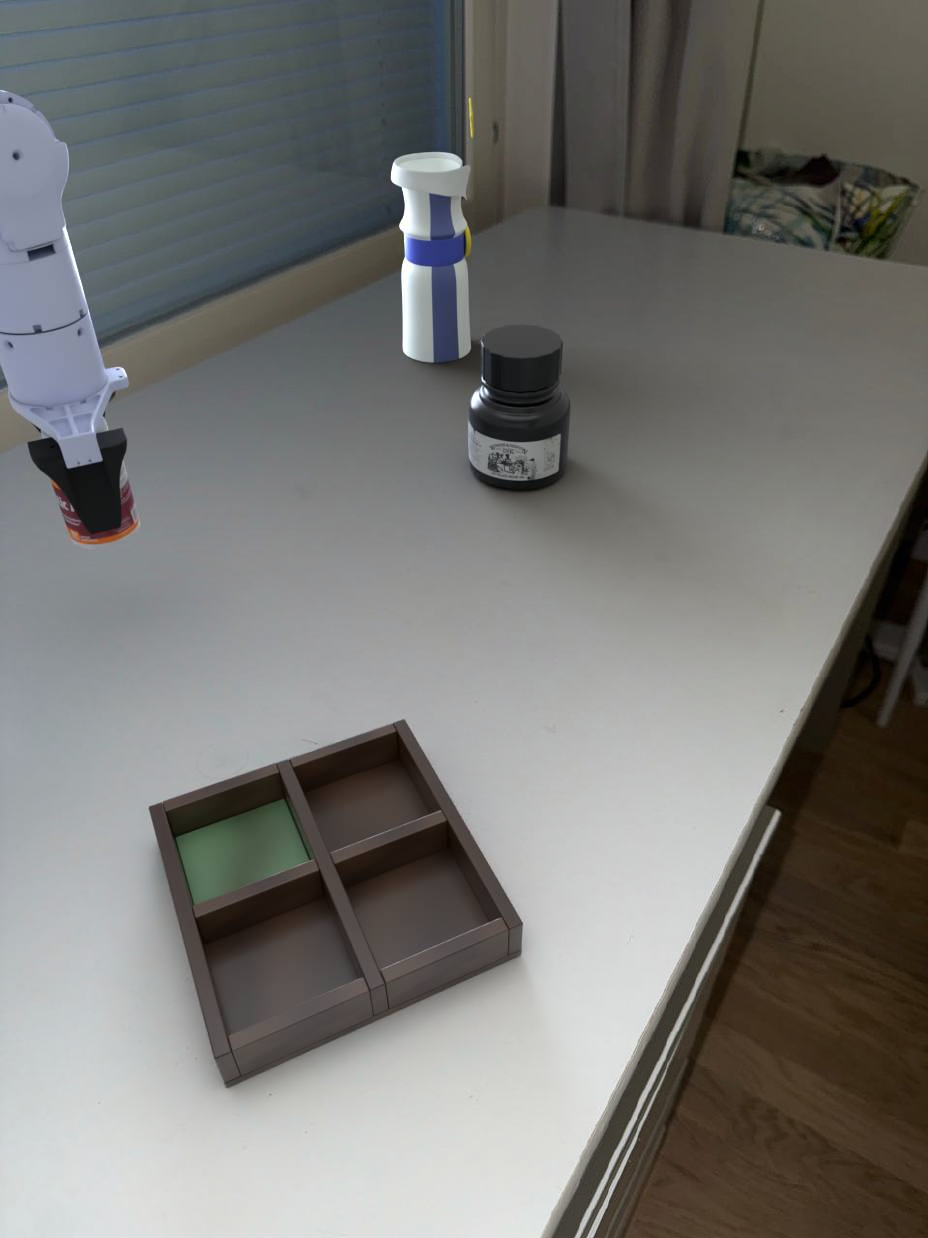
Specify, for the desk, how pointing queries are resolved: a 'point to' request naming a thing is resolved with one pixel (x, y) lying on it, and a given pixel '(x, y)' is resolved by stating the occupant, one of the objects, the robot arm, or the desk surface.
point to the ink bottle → (519, 409)
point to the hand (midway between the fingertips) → (98, 508)
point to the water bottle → (434, 255)
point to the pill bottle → (105, 538)
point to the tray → (327, 896)
